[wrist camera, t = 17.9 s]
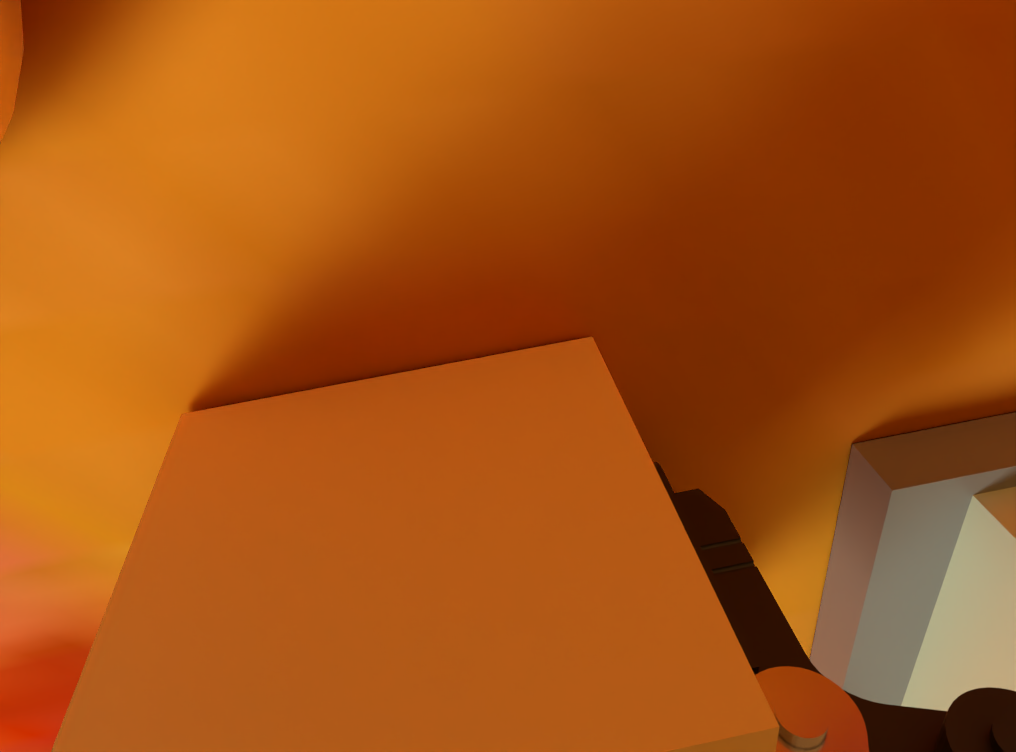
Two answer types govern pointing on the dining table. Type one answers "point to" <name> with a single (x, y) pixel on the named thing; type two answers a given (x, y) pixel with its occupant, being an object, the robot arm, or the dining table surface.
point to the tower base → (924, 567)
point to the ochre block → (418, 580)
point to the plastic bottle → (9, 58)
